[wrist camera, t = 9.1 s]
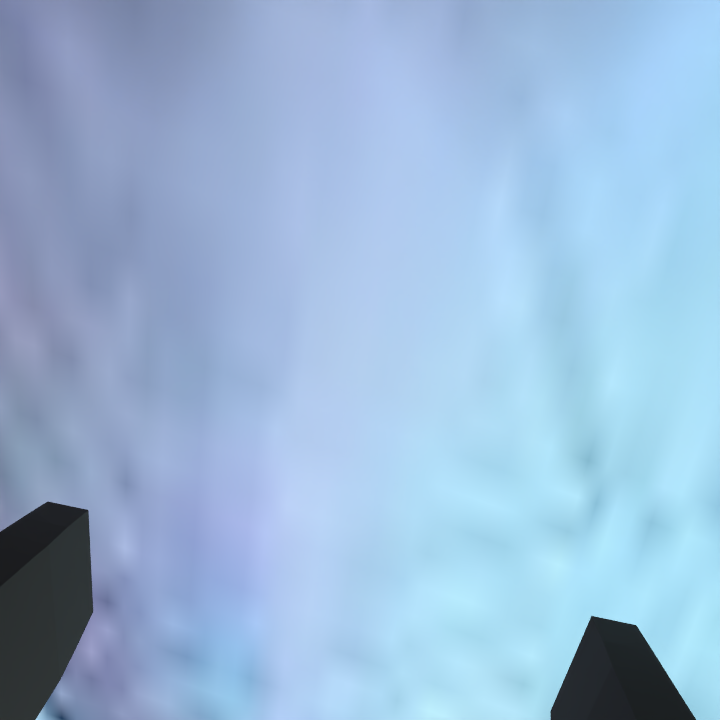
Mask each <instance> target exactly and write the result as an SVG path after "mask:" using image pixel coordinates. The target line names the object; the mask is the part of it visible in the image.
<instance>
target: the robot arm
mask: <svg viewBox="0 0 720 720" xmlns="http://www.w3.org/2000/svg"><path fill="white" fill-rule="evenodd" d="M92 613H93V599H92V578H91V557H90V536H89V515H88V510H85V509H80V508H76V507H71V506H66V505H61V504H57V503H52V502H46V503H45V504H43V505H41V506H40V507H38V508H37V509H35V510H34V511H32V512H30V513H29V514H27V515H26V516H24V517H23V518H21V519H19V520H18V521H16V522H15V523H13V524H12V525H10V526H9V527H7V528H6V529H4V530H2V531H1V532H0V720H35V719H36V718H37V716H38V715H39V713H40V711H41V710H42V708H43V707H44V705H45V704H46V702H47V700H48V699H49V697H50V695H51V694H52V692H53V691H54V689H55V687H56V686H57V684H58V682H59V681H60V679H61V677H62V675H63V673H64V671H65V669H66V667H67V665H68V663H69V661H70V659H71V657H72V655H73V653H74V651H75V649H76V647H77V645H78V643H79V641H80V638H81V636H82V634H83V632H84V630H85V628H86V626H87V624H88V621H89V619H90V617H91V615H92ZM551 720H696V719H695V717H694V716H693V714H692V712H691V711H690V709H689V708H688V706H687V705H686V703H685V702H684V700H683V698H682V697H681V695H680V694H679V692H678V690H677V689H676V687H675V686H674V684H673V683H672V681H671V679H670V678H669V676H668V675H667V673H666V671H665V670H664V668H663V667H662V665H661V663H660V662H659V660H658V659H657V657H656V656H655V654H654V652H653V651H652V649H651V648H650V646H649V644H648V643H647V641H646V640H645V638H644V637H643V635H642V634H641V632H640V630H639V629H638V627H637V626H636V625H632V624H627V623H623V622H618V621H613V620H608V619H604V618H599V617H594V616H591V619H590V621H589V623H588V626H587V628H586V630H585V633H584V635H583V637H582V640H581V642H580V644H579V647H578V649H577V651H576V654H575V656H574V658H573V661H572V663H571V665H570V667H569V670H568V672H567V674H566V677H565V679H564V681H563V684H562V686H561V688H560V691H559V693H558V695H557V698H556V700H555V702H554V705H553V707H552V709H551Z"/></svg>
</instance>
